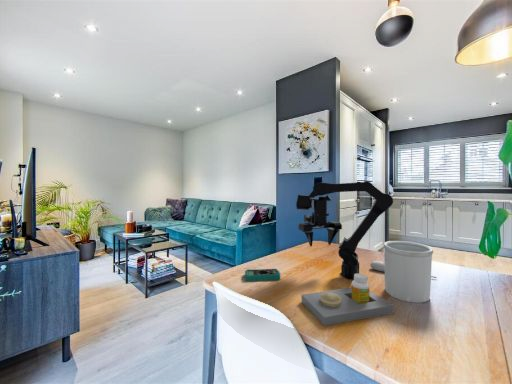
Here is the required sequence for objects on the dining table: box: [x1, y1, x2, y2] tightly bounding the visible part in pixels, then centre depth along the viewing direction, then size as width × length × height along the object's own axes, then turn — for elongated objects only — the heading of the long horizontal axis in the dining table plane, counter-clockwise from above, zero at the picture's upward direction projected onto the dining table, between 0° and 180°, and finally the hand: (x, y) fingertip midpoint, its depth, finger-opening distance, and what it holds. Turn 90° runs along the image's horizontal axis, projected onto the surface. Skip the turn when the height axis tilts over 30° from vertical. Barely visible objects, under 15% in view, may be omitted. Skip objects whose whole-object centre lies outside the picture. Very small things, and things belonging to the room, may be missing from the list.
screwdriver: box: [369, 260, 438, 279], centre depth 105 cm, size 5×25×4 cm, turn 60°
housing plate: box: [301, 286, 394, 327], centre depth 77 cm, size 24×14×4 cm, turn 106°
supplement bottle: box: [351, 273, 371, 304], centre depth 78 cm, size 5×5×10 cm
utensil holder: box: [383, 240, 434, 304], centre depth 86 cm, size 15×15×18 cm
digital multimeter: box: [244, 268, 281, 282], centre depth 101 cm, size 7×15×3 cm, turn 96°
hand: (320, 245), depth 106 cm, fingers open, 9 cm apart
